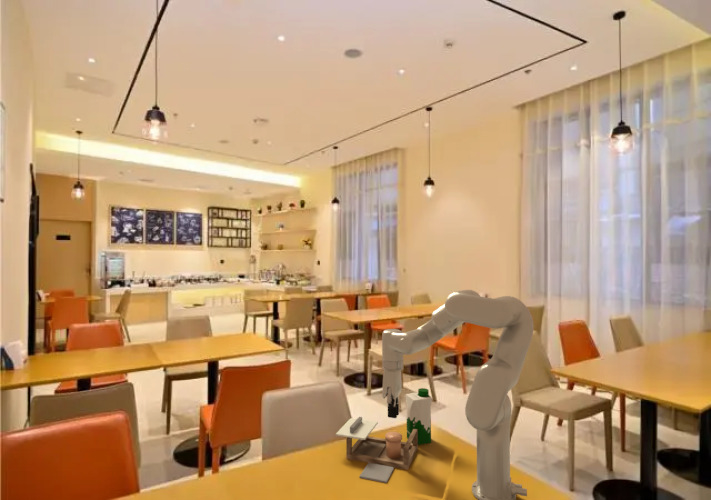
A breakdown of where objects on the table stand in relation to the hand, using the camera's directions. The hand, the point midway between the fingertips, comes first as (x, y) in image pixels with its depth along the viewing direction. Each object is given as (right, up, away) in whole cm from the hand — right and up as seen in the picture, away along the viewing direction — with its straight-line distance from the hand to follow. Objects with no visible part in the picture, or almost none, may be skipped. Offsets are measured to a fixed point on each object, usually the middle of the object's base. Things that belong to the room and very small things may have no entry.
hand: (393, 415), depth 143 cm
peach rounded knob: (0, -14, 0) cm, 14 cm away
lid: (-13, -7, +5) cm, 15 cm away
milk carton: (+11, -15, +12) cm, 22 cm away
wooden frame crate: (-4, -15, +1) cm, 15 cm away
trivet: (-6, -15, -12) cm, 20 cm away
